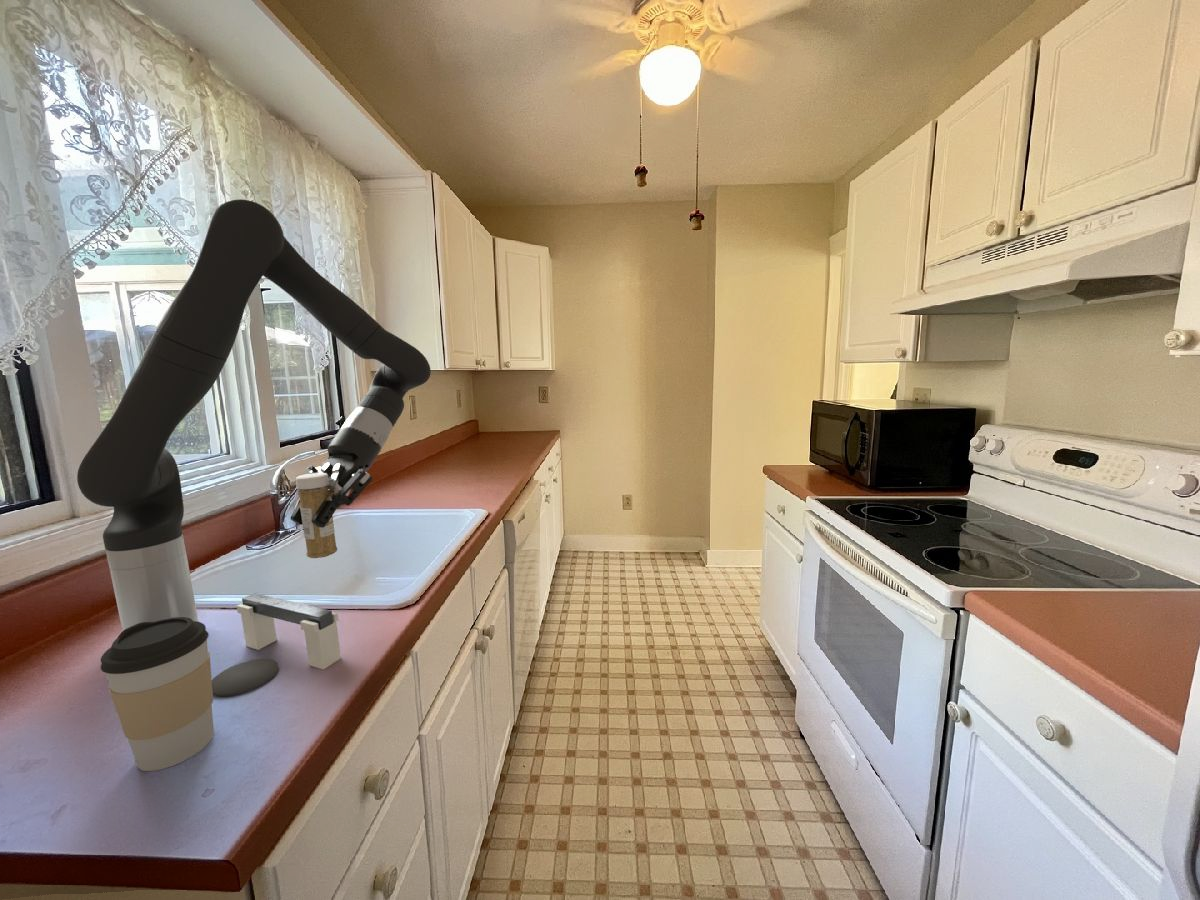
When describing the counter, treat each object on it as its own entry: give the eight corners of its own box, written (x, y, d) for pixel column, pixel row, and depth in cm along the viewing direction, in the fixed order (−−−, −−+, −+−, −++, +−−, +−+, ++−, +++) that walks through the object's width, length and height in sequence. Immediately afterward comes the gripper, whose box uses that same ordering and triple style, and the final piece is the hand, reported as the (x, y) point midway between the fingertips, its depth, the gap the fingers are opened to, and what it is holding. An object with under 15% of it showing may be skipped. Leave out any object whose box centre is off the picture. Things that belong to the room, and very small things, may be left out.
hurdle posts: (243, 647, 77) (236, 605, 76) (267, 635, 81) (261, 595, 80) (320, 671, 70) (314, 625, 69) (343, 656, 74) (337, 612, 73)
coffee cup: (244, 724, 60) (224, 612, 57) (164, 785, 51) (137, 655, 49) (187, 715, 62) (166, 606, 59) (101, 772, 53) (72, 647, 51)
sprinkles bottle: (339, 554, 79) (328, 474, 77) (306, 561, 77) (295, 479, 75) (336, 546, 83) (326, 470, 81) (305, 553, 81) (294, 474, 78)
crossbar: (243, 610, 77) (241, 598, 77) (256, 604, 79) (254, 593, 79) (320, 629, 70) (319, 617, 70) (333, 623, 72) (331, 610, 72)
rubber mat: (196, 689, 67) (195, 685, 67) (256, 657, 74) (255, 654, 74) (231, 702, 64) (231, 698, 64) (290, 668, 71) (290, 664, 71)
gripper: (318, 424, 86) (258, 508, 77) (377, 426, 81) (319, 516, 72) (347, 449, 92) (294, 530, 83) (404, 452, 86) (354, 538, 77)
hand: (306, 523), depth 77 cm, fingers closed on sprinkles bottle, 4 cm apart
